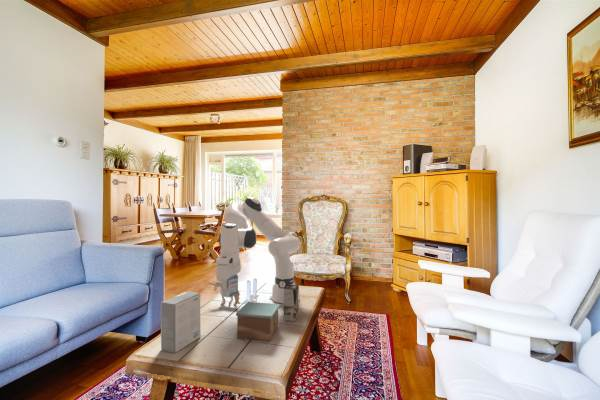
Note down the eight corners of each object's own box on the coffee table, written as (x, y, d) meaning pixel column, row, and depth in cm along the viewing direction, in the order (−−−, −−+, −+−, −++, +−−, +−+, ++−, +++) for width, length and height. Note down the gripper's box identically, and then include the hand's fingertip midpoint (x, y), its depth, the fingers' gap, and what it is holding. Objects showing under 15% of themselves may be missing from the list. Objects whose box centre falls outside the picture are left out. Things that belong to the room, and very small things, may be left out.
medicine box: (229, 297, 136) (229, 279, 136) (221, 296, 138) (221, 278, 138) (238, 292, 144) (238, 275, 144) (230, 291, 145) (230, 274, 145)
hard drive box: (187, 334, 133) (188, 290, 133) (201, 337, 130) (201, 292, 130) (159, 350, 119) (160, 301, 119) (174, 354, 116) (175, 303, 116)
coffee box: (295, 321, 148) (295, 289, 148) (283, 320, 150) (283, 288, 150) (299, 314, 157) (299, 284, 157) (287, 313, 159) (287, 284, 159)
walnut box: (248, 325, 143) (248, 305, 143) (278, 328, 140) (278, 307, 140) (237, 338, 129) (237, 316, 129) (269, 341, 127) (269, 319, 127)
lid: (248, 304, 144) (248, 301, 144) (280, 306, 141) (280, 304, 141) (235, 316, 129) (235, 313, 129) (271, 319, 126) (271, 316, 126)
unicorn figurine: (212, 301, 176) (212, 279, 176) (243, 303, 174) (243, 281, 174) (207, 305, 169) (207, 282, 169) (239, 307, 167) (239, 284, 167)
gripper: (232, 253, 152) (232, 279, 152) (213, 261, 132) (213, 291, 132) (243, 253, 151) (243, 280, 150) (226, 261, 130) (226, 292, 130)
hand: (229, 285), depth 141 cm, fingers closed on medicine box, 8 cm apart
